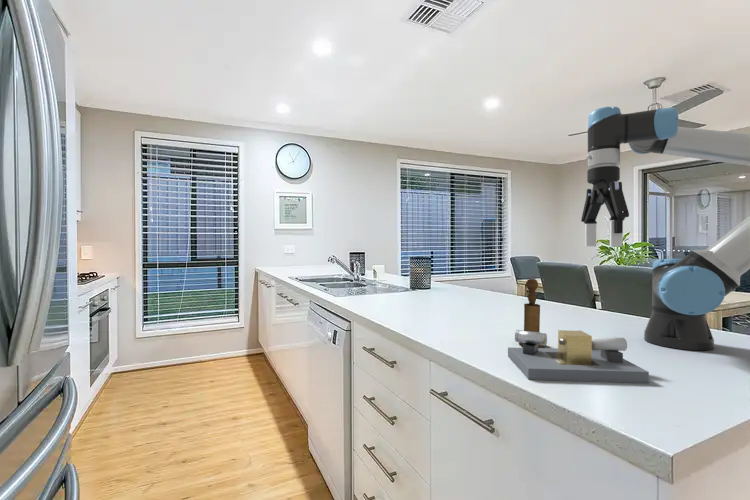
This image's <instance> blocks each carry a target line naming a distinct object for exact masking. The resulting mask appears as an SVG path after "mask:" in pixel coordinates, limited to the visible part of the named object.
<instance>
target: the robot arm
mask: <svg viewBox="0 0 750 500" xmlns="http://www.w3.org/2000/svg"><path fill="white" fill-rule="evenodd" d="M587 119H588V120H587V121H588V122H587V155H586V157H585V158H586V159H587V168H588V170H587V172H586V173H587V175H586V177H587V181H586V183H588V184H590V185H592V188H587V189H586V196H585V201H584V207H583V211H582V215H581V219H580V220H581V222H583V224H584V225H585V226H584V228H585V231H584V246H585V247H597V223H598V222H597V220H596V219H597V217H598V214H599V213H600V210H601V207H602V206H603V205H605V207H606V209H607V211H608V213H609V215H610V217H609V247H612V248H614V247H615V248H616V247H617V248H619V247H621V248H622V247H624V246H623V245H624V244H623V240H624V237H623V236H624V235H623V231H624V230H623V229H624V227H623V226H624V225H623V223H624V221H625V219H626V218H629V216H630V211H629V209H628V206H627V202H626V198H625V194H624V192H623V183H622V181H620V178H621V176H620V175H621V167H619V166H620V165H621V145H622V144H624V145H625V144H628V145H629V148H630V149H631V151H633V152H634V153H636V154H639V155H644V154H645V155H646V154H650V153H653V154H660V155H669V156H675V157H676V156H677V157H684V158H692V159H696V160H697V159H699V160H705V161H712V162H719V163H725V164H726V163H727V164H732V165H733V164H735V165H741V166H748V167H750V133H742V132H733V131H723V130H713V129H704V128H695V127H684V126H679V111H678V109H677V108H676V107H665V108H662V107H659V108H657V109H656V108H655V109H650V110H644V111H636V112H630V113H629V112H628V113H622V112H621V108H619V107H618V106H604V107H599V108H596V109H594V110H593V111H591V112H590V113H589V115H588V118H587ZM749 270H750V215H749V216H748V217H746V218H745V219H743V220H742V221H741V222H740V223H738V224H737V225H736V226H735V227H733V228H732V229H731V230H728V232H726V233H725V234H724V235H723V236H722V237H720V238H719V239H718V240H717V241H715V242H714V243H712V244H711V245H710V246H708V247H707V248H705V249H702V250H701V249H698V250H697V249H696V250H695V249H694V250H692V251H691V252H689V253H688V254H687V255H685V256H684V257H683V258H661V259H660V258H659V259H656V260H655V261H653V263H652V268H651V274H652V284H651V285H652V291H651V292H652V295H651V296H652V297H651V298H652V299H651V300H652V301H651V306H652V307H651V314H650V317H649V319H648V322H647V323H646V327H645V329H644V334H643V336H644V337H643V339H644V341H645V342H647V343H651V344H652V345H656V346H661V347H667V348H673V349H678V350H679V349H680V350H689V351H710V350H711V351H712V350H713V349H714V348H715V339H714V337H713V334H712V331H711V328H710V326H709V323H708V320H707V319H706V318H707V317H706V316H707V314H709V313H711V312H713V311H714V310H716V309H717V308H718V307H720V306H721V304H722V303H723V301H724V299H725V297H726V296H728V295H729V294H730V293H732V292H733V291H734V290H736V289H738V287H740V286H741V277H742V275H744V274H745V273H746V272H748V271H749Z"/></svg>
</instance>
